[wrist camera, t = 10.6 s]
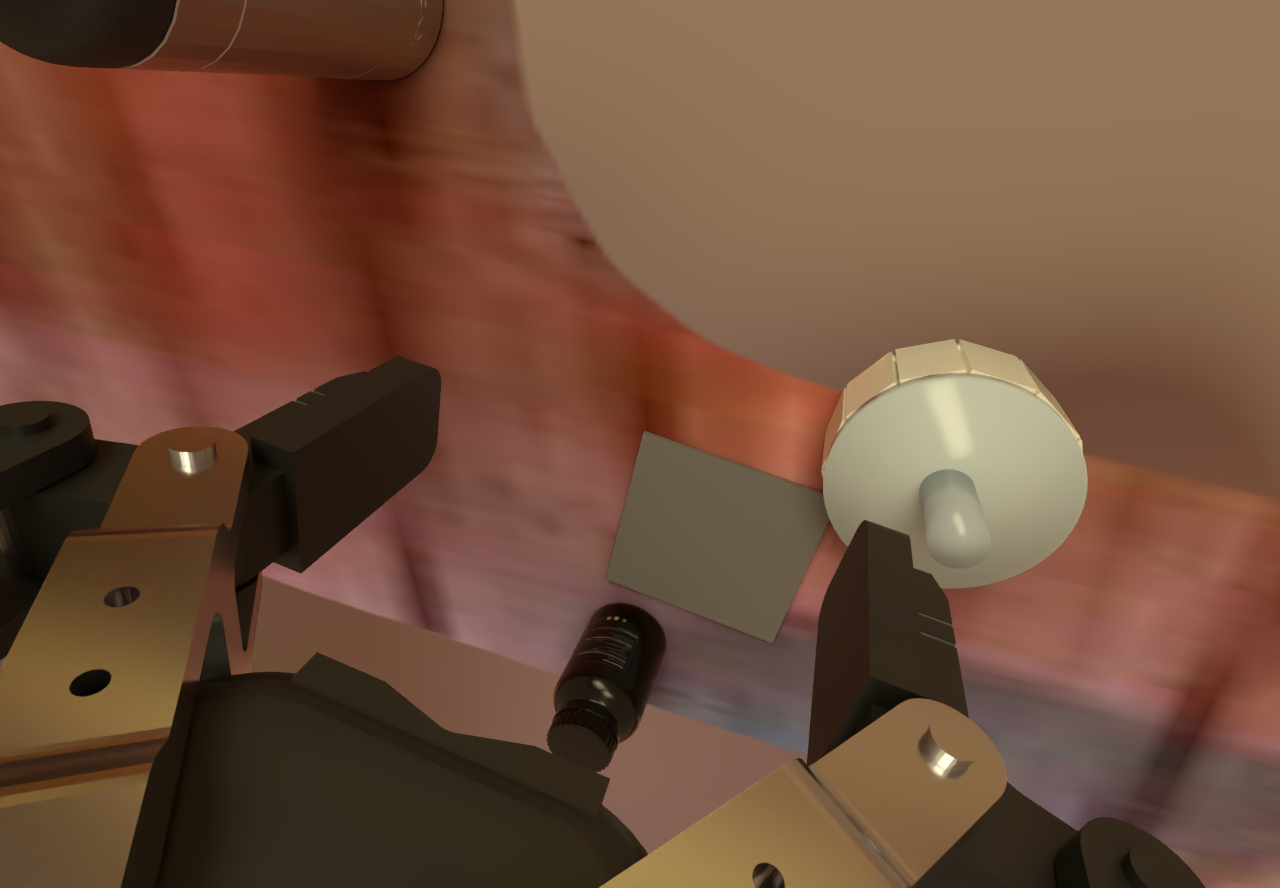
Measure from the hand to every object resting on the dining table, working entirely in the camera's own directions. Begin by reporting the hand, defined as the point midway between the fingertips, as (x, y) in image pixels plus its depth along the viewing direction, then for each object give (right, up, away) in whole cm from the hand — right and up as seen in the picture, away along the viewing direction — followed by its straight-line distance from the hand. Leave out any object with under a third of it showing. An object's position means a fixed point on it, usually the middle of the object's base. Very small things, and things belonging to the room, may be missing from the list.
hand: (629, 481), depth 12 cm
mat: (+6, -7, +37) cm, 38 cm away
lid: (+17, -1, +25) cm, 30 cm away
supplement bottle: (-1, -15, +44) cm, 46 cm away
